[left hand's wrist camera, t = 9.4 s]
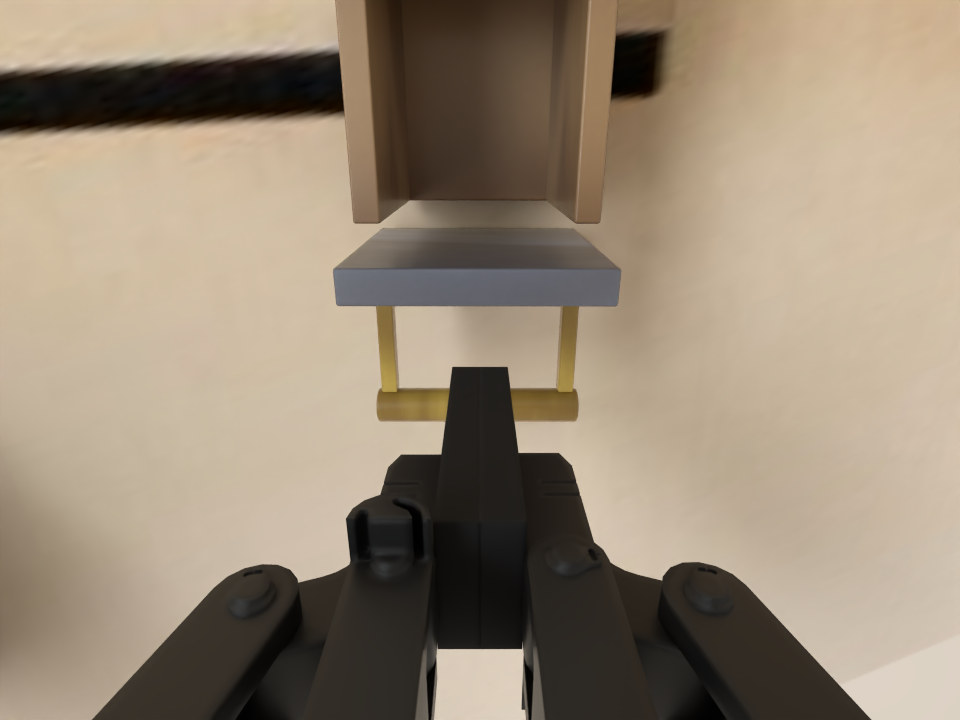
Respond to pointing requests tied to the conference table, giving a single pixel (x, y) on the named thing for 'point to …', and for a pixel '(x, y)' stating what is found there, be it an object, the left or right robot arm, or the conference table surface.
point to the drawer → (476, 167)
